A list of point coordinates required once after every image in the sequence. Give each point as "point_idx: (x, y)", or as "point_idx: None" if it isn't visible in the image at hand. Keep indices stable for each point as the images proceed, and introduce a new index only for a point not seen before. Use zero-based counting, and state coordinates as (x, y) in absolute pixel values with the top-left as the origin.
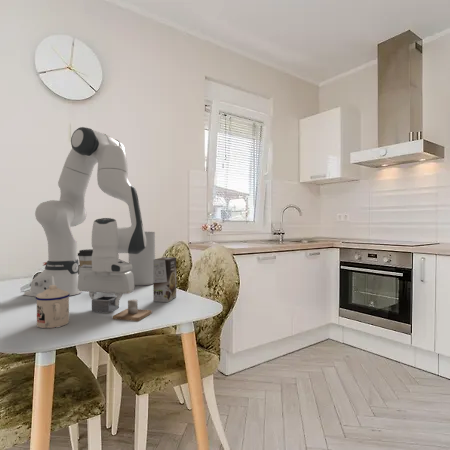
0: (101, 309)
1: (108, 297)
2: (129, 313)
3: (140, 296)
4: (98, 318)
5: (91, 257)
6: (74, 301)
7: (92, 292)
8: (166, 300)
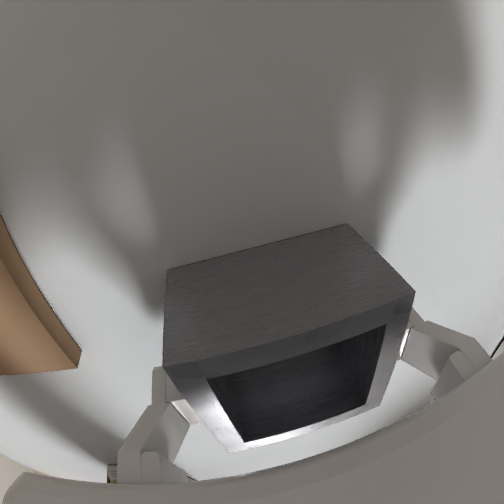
0: (250, 264)
1: (313, 417)
2: None
3: (278, 464)
4: (91, 81)
5: None
6: (495, 306)
7: (464, 374)
8: (112, 471)
